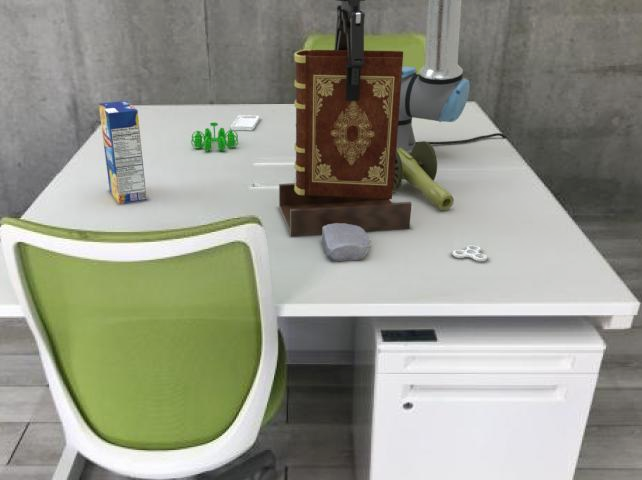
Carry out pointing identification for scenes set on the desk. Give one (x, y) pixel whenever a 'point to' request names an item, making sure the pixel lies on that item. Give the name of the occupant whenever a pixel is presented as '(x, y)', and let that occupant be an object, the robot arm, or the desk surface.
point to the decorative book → (346, 124)
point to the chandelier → (214, 139)
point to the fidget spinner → (470, 253)
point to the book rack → (339, 212)
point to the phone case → (245, 123)
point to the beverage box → (123, 151)
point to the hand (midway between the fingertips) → (346, 95)
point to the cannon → (421, 173)
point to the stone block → (345, 242)
